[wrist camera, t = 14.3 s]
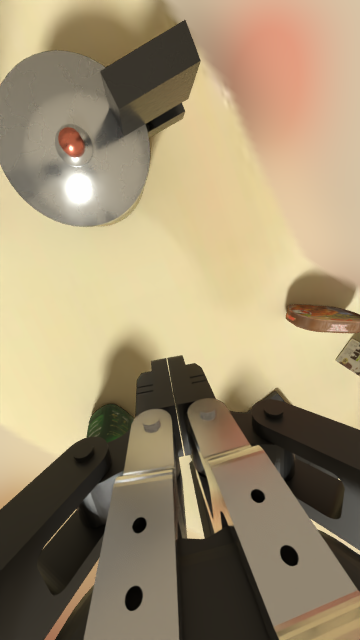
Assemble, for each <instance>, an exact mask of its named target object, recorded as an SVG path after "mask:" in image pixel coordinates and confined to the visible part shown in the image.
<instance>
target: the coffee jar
mask: <svg viewBox="0 0 360 640" xmlns="http://www.w3.org/2000/svg"><path fill="white" fill-rule="evenodd" d="M133 420H134V418H133V417H132V416H131V415H130V414H129V413H127V412H126V411H125V410H124V409H122V408H121V407H119V406H117V405H115V404H107V405H105V406H103V407H101V408H100V409H98V410H97V411H96V412H95V413H94V414H93V415H92V416H91V418H90V421H89V426H88V431H87V438H88V437H95V436H96V437H101V438H103V439H104V440H105V441H106V442H107V443H108V442H110V441H113V440H115V439H117V438H119V437H121V436H122V435H124V434H125V433H126V432H128V431H129V430H130V428H131V425H132V422H133Z"/></svg>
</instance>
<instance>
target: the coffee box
mask: <svg viewBox="0 0 360 640" xmlns="http://www.w3.org/2000/svg"><path fill="white" fill-rule="evenodd" d="M336 361H337V362H339V363H340V364H342V365H343V366H345V367H346V368H348V369H349V370H351V371H353V372H354V373H356V374H357V375H359V376H360V342H358V341H356V340H354V339H351V340H350V341H349V343H348V344H347V345H346V347H345V348H344V349H343V351H342V352H341V353H340V355H339V356H338V357H337V359H336Z"/></svg>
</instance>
